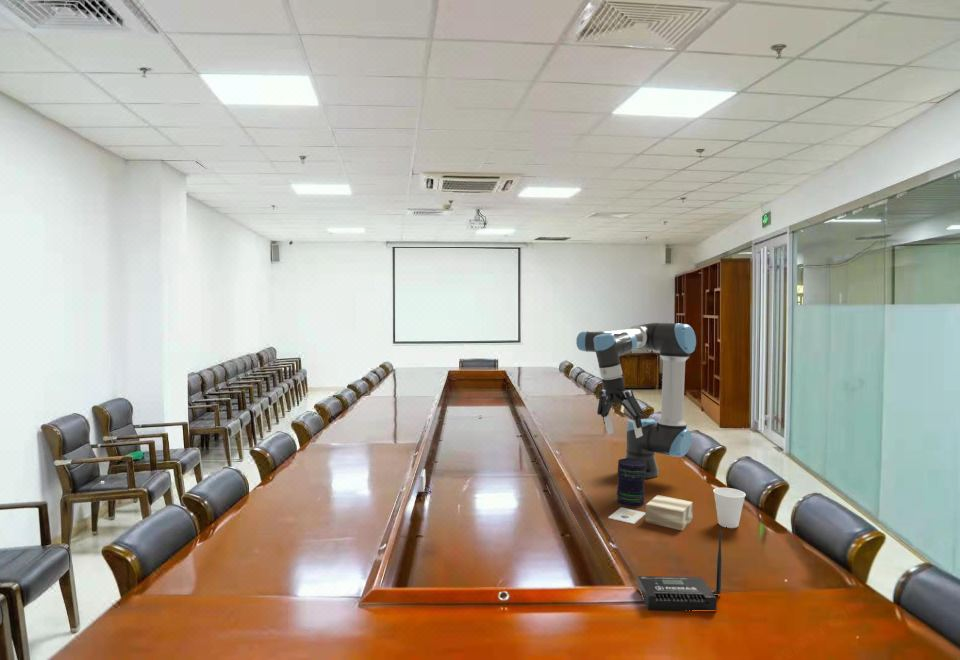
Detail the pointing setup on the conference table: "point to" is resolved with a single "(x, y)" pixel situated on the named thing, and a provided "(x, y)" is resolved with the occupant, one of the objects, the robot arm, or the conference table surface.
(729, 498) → the cup
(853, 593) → the conference table surface
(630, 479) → the storage jar
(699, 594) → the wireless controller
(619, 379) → the robot arm
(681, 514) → the base block
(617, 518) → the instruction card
